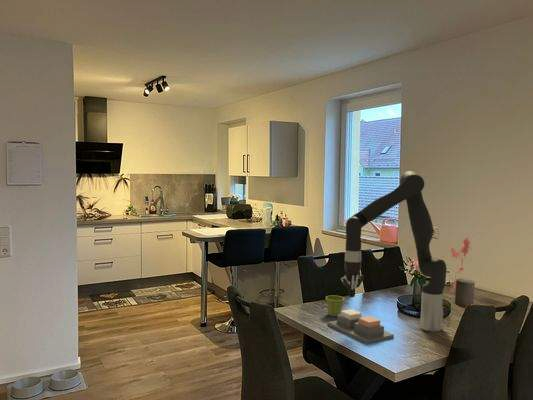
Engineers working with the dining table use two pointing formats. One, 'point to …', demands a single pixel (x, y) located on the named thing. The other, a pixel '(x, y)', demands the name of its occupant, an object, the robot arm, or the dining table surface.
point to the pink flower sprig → (455, 254)
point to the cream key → (351, 314)
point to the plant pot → (334, 305)
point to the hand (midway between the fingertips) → (351, 296)
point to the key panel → (360, 330)
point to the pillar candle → (464, 292)
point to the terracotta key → (369, 322)
